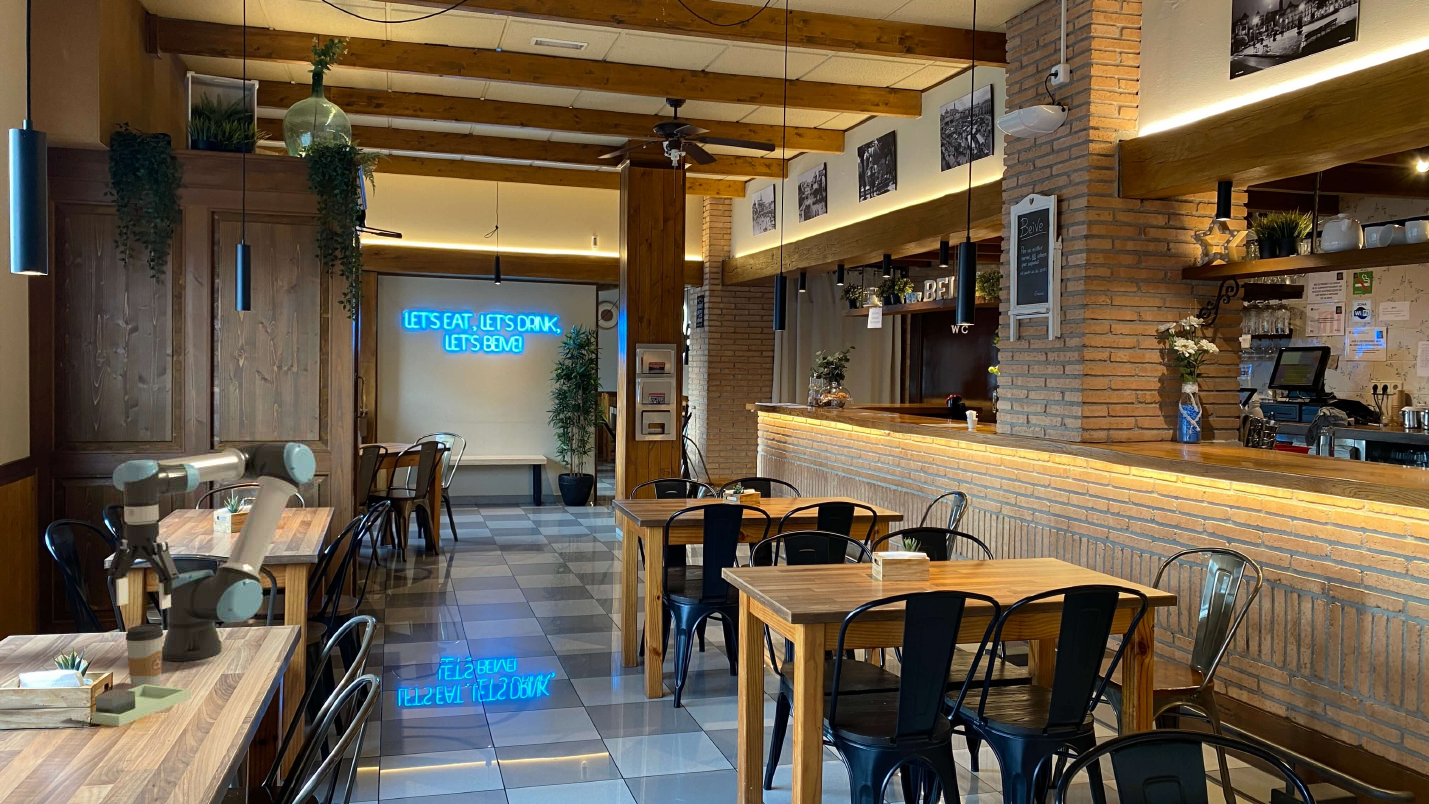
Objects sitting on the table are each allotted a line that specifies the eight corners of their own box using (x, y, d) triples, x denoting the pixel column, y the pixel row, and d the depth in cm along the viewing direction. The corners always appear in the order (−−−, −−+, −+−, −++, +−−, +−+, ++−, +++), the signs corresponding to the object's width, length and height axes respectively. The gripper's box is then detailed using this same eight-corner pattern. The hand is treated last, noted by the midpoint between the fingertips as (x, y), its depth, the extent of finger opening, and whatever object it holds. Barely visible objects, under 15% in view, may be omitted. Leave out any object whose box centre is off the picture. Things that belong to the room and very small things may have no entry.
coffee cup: (147, 693, 251) (146, 632, 250) (118, 690, 252) (117, 631, 252) (172, 682, 259) (170, 624, 258) (143, 680, 260) (142, 622, 260)
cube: (115, 710, 235) (114, 689, 235) (135, 712, 233) (135, 691, 233) (92, 718, 230) (91, 697, 229) (113, 721, 228) (112, 699, 228)
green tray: (144, 696, 248) (144, 684, 248) (190, 701, 244) (190, 689, 244) (70, 723, 229) (70, 710, 229) (119, 729, 225) (119, 716, 225)
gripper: (90, 522, 254) (92, 606, 255) (169, 526, 247) (171, 612, 247) (115, 517, 261) (117, 599, 262) (193, 521, 254) (195, 605, 255)
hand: (143, 606), depth 255 cm, fingers open, 13 cm apart
